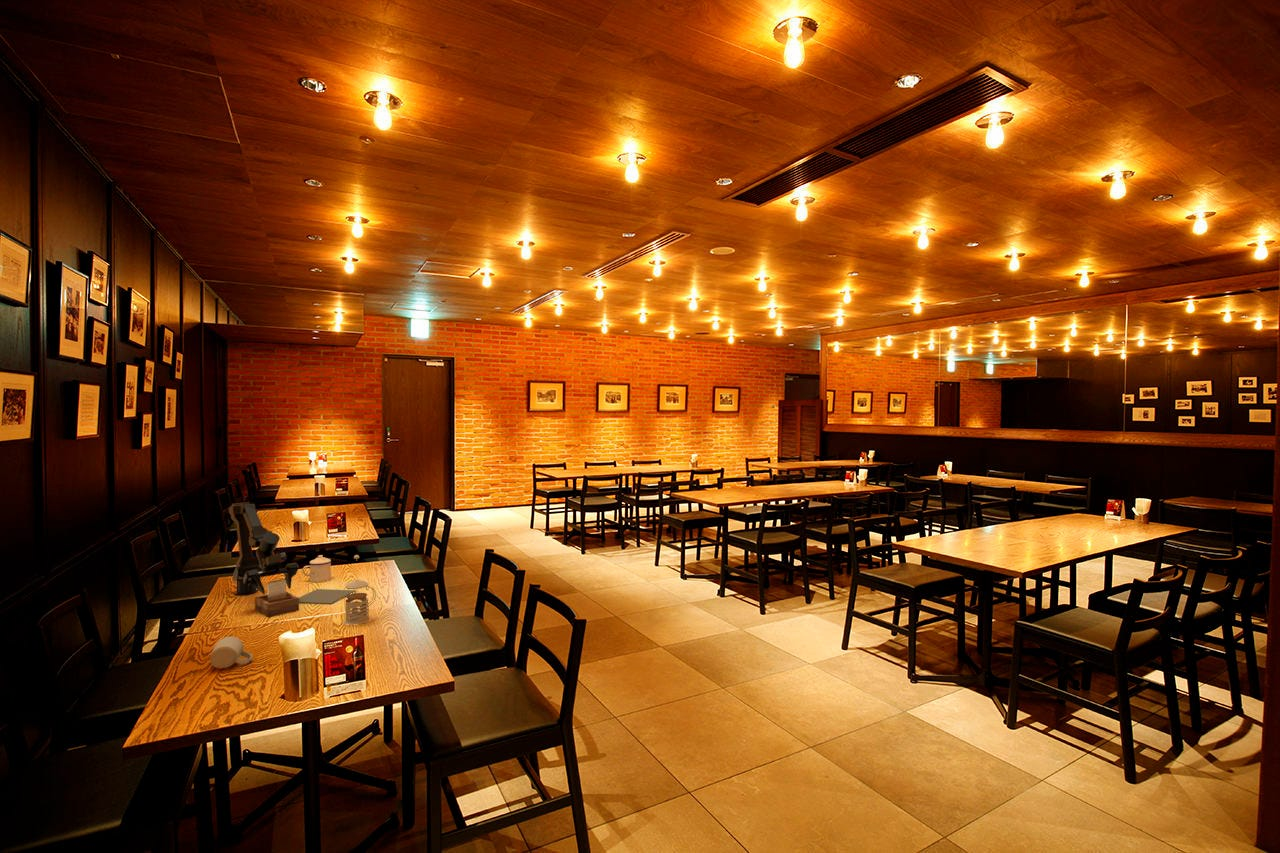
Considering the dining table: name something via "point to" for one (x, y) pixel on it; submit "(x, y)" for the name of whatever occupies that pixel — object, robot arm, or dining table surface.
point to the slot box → (276, 605)
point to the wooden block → (276, 589)
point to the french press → (357, 603)
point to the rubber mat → (324, 596)
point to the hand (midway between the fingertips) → (277, 590)
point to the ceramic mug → (229, 653)
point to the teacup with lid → (319, 569)
